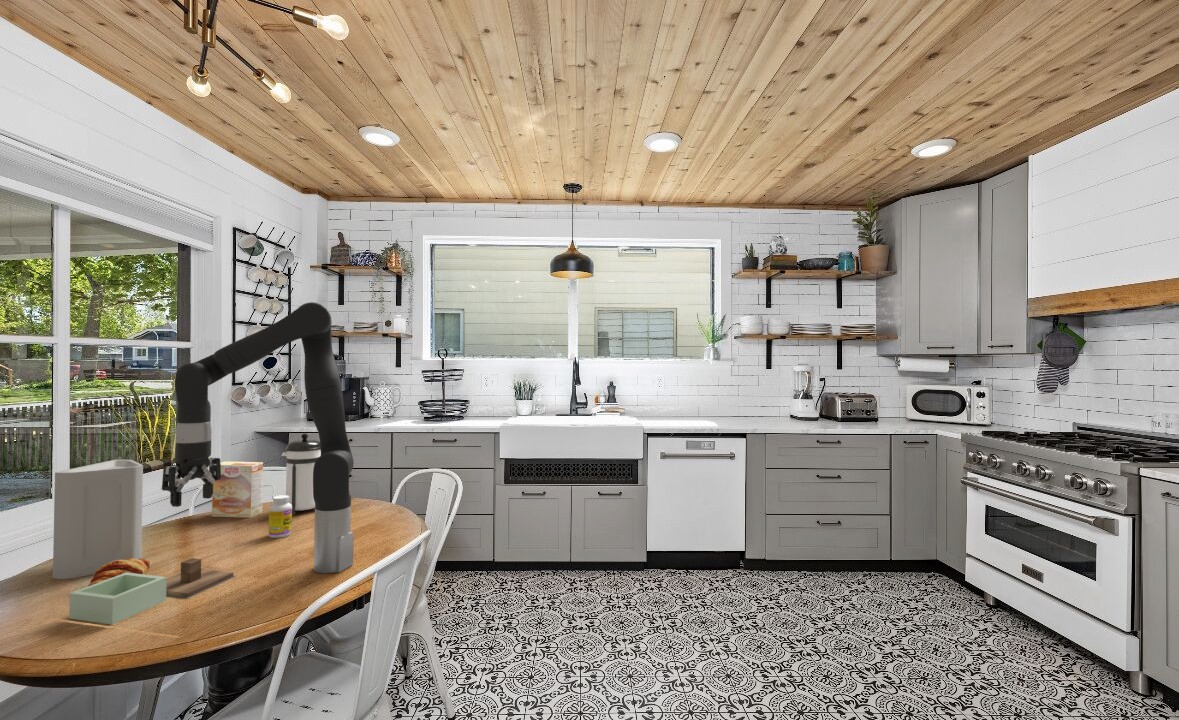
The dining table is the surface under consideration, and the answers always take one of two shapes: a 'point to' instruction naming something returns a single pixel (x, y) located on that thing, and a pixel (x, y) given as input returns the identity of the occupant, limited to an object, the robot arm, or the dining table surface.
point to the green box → (117, 598)
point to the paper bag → (96, 517)
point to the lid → (194, 579)
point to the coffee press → (301, 472)
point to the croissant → (120, 569)
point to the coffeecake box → (238, 490)
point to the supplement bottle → (280, 517)
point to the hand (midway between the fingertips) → (192, 502)
